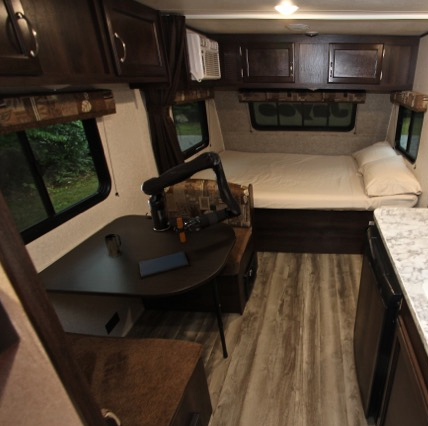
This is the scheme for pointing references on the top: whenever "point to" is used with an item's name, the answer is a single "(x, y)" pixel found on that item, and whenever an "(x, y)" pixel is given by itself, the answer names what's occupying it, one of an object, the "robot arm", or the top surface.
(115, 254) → the mug
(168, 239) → the top surface
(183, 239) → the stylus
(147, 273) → the tablet
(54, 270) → the top surface
